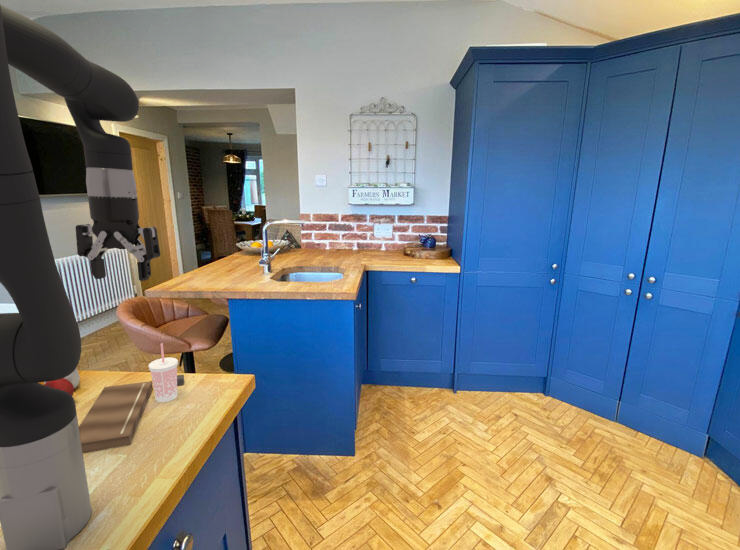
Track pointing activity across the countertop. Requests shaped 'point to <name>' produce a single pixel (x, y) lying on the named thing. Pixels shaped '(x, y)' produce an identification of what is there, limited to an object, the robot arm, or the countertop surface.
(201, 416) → the countertop surface
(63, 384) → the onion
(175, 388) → the beverage cup
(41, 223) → the robot arm
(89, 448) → the walnut board
